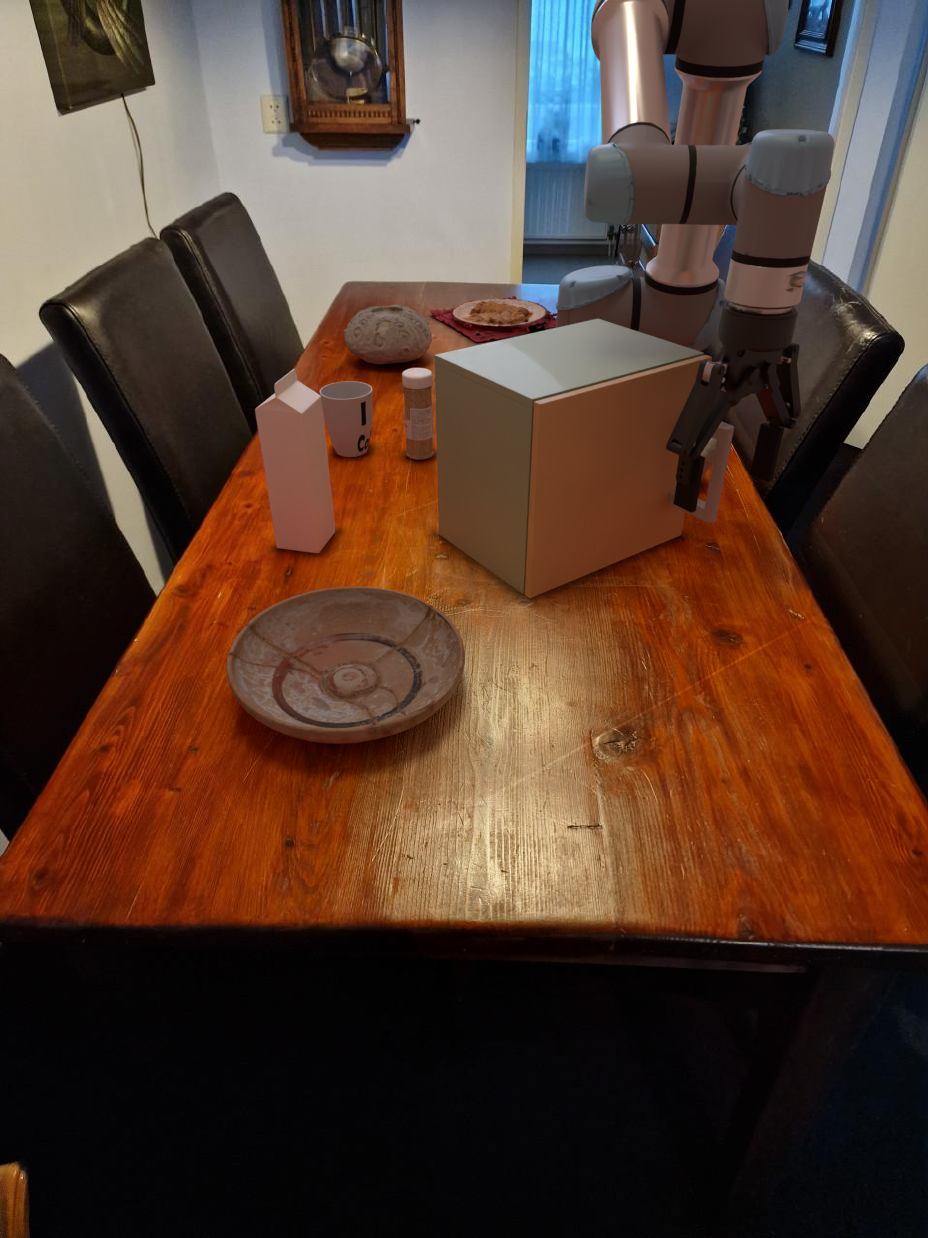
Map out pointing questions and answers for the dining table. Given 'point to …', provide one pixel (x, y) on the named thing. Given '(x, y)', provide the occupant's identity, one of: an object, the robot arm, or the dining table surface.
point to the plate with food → (496, 318)
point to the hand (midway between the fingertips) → (723, 492)
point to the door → (610, 474)
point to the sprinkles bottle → (418, 413)
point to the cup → (348, 416)
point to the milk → (296, 466)
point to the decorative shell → (388, 334)
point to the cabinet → (517, 425)
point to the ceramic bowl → (346, 664)
